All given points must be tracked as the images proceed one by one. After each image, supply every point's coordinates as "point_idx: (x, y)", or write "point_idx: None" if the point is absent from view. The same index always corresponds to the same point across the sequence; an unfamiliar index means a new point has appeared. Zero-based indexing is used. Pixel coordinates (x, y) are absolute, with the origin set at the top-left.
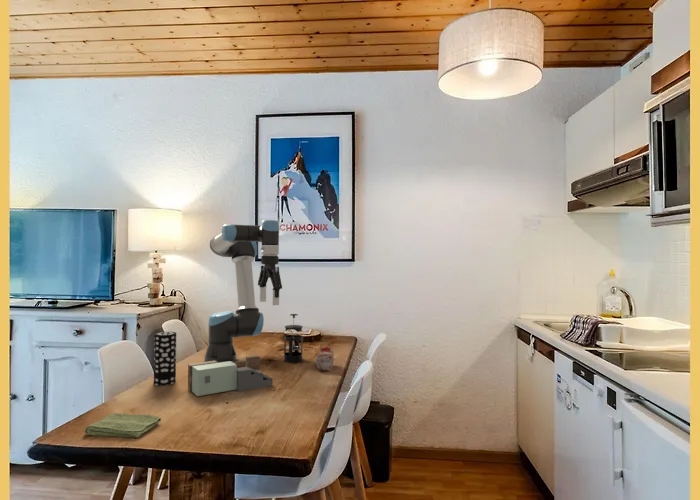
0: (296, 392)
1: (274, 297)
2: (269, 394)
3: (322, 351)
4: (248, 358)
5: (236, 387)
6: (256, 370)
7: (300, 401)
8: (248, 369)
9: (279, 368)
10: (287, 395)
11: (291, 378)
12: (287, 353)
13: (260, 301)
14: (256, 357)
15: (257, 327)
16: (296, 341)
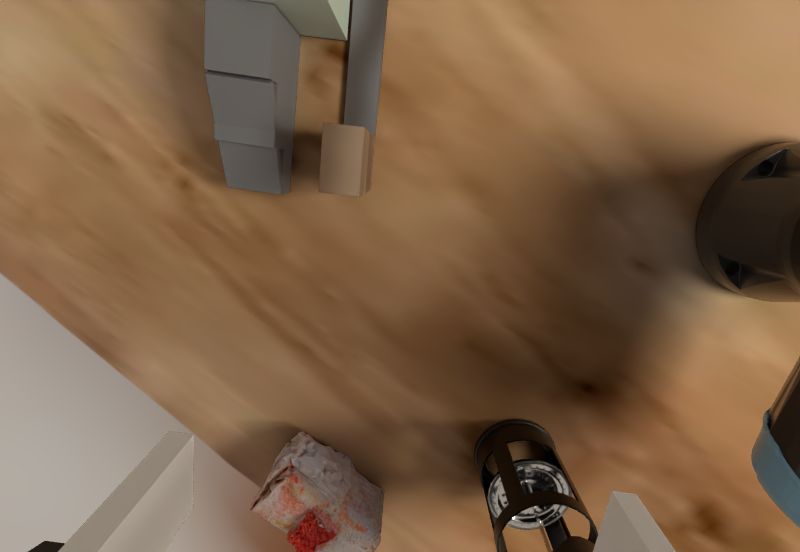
0: (114, 210)
1: (88, 539)
2: (145, 114)
3: (308, 511)
4: (326, 123)
5: None
6: (270, 136)
7: (12, 160)
8: (212, 56)
9: (444, 345)
10: (99, 163)
11: (286, 299)
12: (559, 467)
13: (614, 494)
14: (321, 171)
15: (775, 457)
16: (557, 543)
